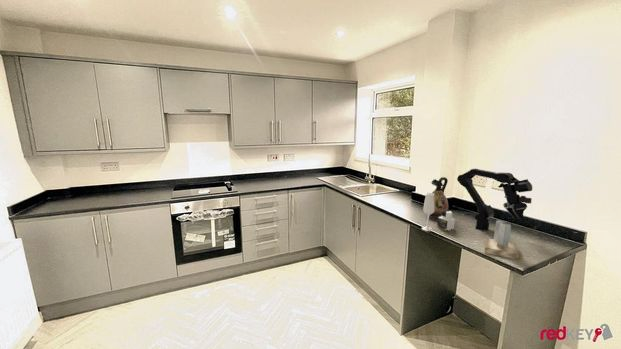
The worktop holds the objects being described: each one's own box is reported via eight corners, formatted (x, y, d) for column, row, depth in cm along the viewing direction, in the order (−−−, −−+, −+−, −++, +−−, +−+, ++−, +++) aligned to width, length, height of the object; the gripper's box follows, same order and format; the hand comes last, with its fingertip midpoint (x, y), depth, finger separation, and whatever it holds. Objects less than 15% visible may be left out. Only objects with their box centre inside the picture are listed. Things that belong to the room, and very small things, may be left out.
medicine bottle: (437, 227, 171) (438, 210, 169) (444, 225, 174) (446, 208, 172) (446, 231, 165) (448, 213, 162) (454, 229, 167) (455, 211, 165)
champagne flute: (434, 229, 167) (438, 194, 163) (429, 232, 163) (432, 195, 159) (425, 226, 172) (428, 191, 168) (419, 228, 169) (422, 193, 164)
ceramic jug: (434, 220, 182) (437, 179, 177) (420, 213, 197) (422, 175, 191) (454, 218, 186) (458, 178, 181) (439, 211, 201) (442, 174, 195)
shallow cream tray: (484, 252, 136) (485, 247, 136) (484, 242, 148) (484, 237, 147) (517, 259, 129) (518, 254, 128) (514, 248, 141) (515, 243, 140)
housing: (496, 246, 136) (499, 223, 134) (493, 242, 141) (496, 220, 139) (507, 247, 135) (511, 224, 133) (503, 243, 140) (507, 221, 137)
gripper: (534, 190, 140) (543, 219, 138) (521, 190, 157) (528, 216, 155) (510, 194, 144) (518, 222, 142) (499, 194, 161) (507, 219, 159)
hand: (518, 219), depth 149 cm, fingers open, 9 cm apart
